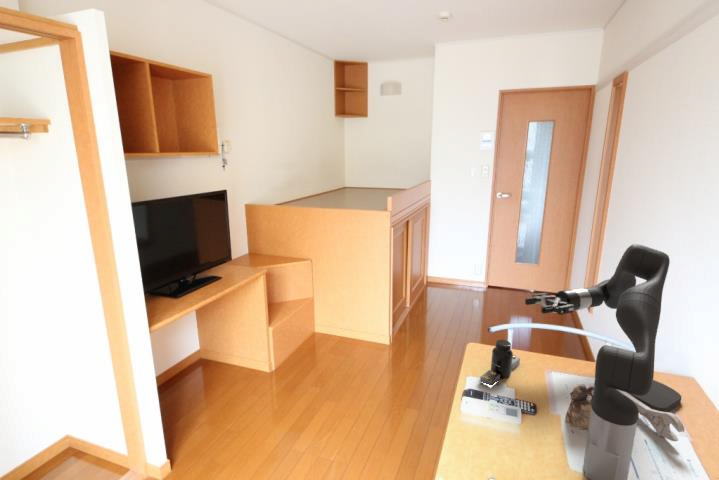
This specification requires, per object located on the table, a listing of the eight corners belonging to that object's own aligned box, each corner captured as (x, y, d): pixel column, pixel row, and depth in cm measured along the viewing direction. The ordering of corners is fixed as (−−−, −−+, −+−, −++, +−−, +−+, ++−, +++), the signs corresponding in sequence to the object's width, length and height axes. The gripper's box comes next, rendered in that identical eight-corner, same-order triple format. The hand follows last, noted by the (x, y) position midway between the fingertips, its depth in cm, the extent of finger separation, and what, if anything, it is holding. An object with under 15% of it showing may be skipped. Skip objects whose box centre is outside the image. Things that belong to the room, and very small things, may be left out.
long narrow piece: (490, 388, 131) (491, 380, 131) (480, 383, 134) (480, 375, 134) (519, 364, 145) (520, 357, 145) (509, 360, 148) (509, 353, 148)
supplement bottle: (490, 377, 138) (492, 345, 135) (490, 366, 144) (492, 336, 141) (511, 380, 136) (514, 348, 133) (510, 369, 142) (513, 339, 139)
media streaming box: (661, 417, 117) (663, 409, 116) (610, 392, 129) (611, 383, 128) (685, 402, 124) (686, 393, 123) (634, 378, 136) (635, 371, 135)
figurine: (566, 410, 120) (570, 375, 117) (593, 418, 117) (598, 382, 114) (564, 424, 114) (568, 387, 111) (592, 432, 111) (597, 395, 108)
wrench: (603, 393, 133) (683, 450, 103) (597, 393, 133) (677, 450, 103) (604, 370, 132) (685, 421, 102) (598, 370, 132) (679, 421, 102)
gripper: (559, 283, 146) (521, 289, 142) (590, 296, 132) (548, 302, 129) (558, 303, 147) (520, 309, 144) (588, 317, 134) (547, 324, 130)
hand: (533, 305), depth 136 cm, fingers open, 8 cm apart
